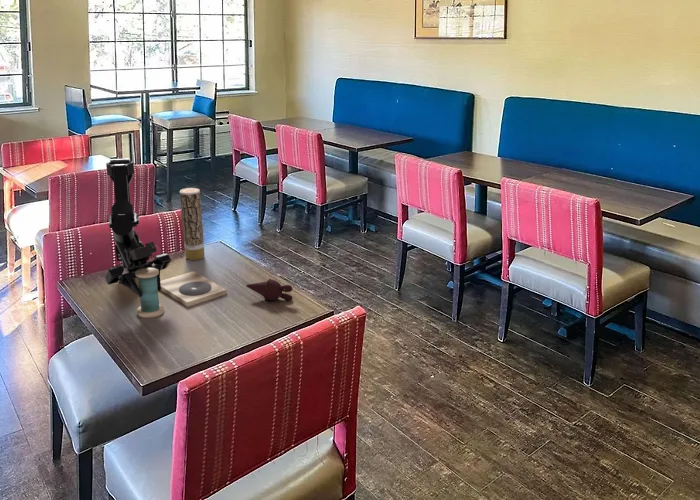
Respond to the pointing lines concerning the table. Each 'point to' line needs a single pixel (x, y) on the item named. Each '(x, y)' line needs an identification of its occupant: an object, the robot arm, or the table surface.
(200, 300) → the stand board
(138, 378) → the table surface
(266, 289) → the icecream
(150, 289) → the bobbin
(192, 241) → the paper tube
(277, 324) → the table surface
